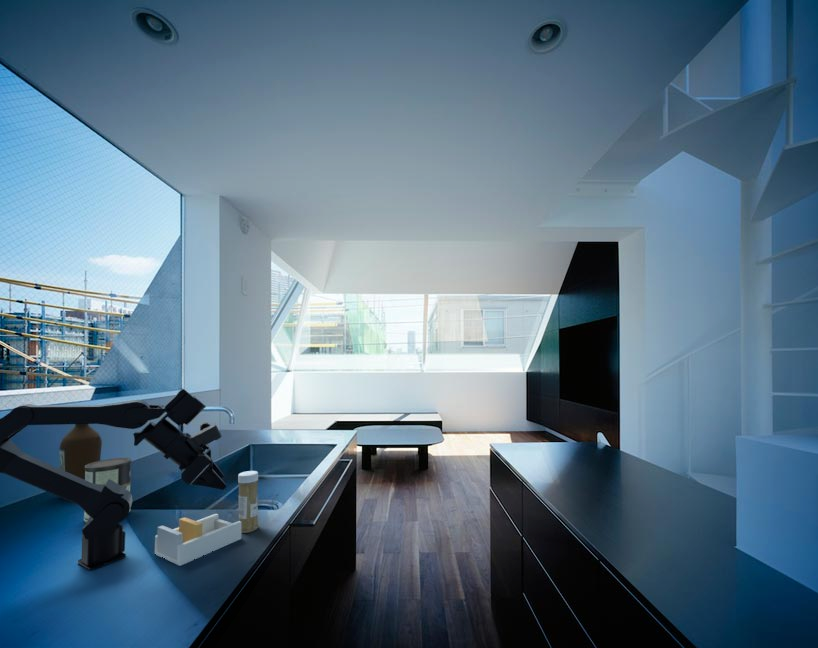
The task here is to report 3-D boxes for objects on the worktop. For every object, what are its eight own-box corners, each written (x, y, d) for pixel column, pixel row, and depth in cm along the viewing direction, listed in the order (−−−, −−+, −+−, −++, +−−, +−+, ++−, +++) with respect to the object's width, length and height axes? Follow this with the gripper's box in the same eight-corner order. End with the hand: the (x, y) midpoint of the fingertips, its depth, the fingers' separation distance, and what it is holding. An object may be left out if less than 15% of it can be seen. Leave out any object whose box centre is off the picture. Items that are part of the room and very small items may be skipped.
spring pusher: (196, 549, 87) (196, 525, 87) (178, 542, 91) (179, 519, 91) (202, 547, 88) (202, 523, 88) (184, 540, 92) (184, 517, 92)
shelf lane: (179, 565, 83) (180, 536, 83) (154, 554, 88) (155, 526, 88) (241, 538, 94) (241, 512, 95) (215, 529, 100) (215, 505, 100)
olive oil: (101, 485, 138) (103, 410, 140) (99, 493, 130) (102, 413, 132) (59, 492, 132) (62, 413, 134) (55, 501, 124) (58, 417, 125)
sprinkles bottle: (260, 530, 99) (260, 473, 100) (240, 535, 96) (240, 476, 97) (255, 524, 102) (255, 469, 103) (236, 528, 100) (236, 472, 101)
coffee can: (119, 506, 118) (121, 456, 119) (137, 512, 113) (138, 460, 114) (76, 518, 110) (78, 464, 111) (92, 526, 104) (94, 469, 105)
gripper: (199, 418, 88) (254, 463, 92) (199, 409, 105) (245, 447, 109) (156, 461, 84) (215, 506, 88) (162, 444, 101) (212, 483, 105)
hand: (224, 482), depth 98 cm, fingers open, 9 cm apart
